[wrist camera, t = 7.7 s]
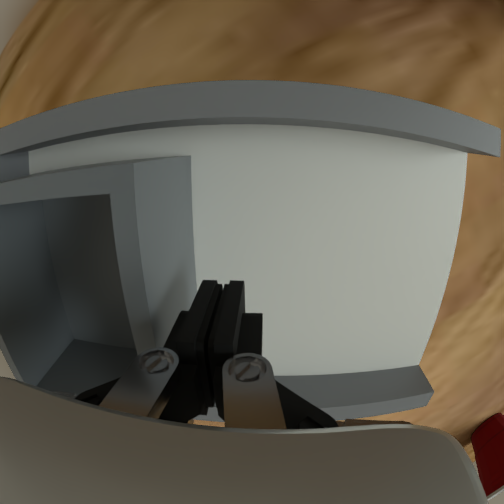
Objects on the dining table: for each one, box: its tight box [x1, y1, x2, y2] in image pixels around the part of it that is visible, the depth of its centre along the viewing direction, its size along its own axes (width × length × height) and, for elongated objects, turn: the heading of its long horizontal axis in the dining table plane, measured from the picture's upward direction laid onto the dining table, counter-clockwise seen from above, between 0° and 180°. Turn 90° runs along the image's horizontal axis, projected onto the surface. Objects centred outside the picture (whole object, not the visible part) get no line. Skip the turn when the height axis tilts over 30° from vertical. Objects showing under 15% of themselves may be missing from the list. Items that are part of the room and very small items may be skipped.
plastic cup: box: [471, 413, 504, 500], centre depth 18 cm, size 11×11×12 cm
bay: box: [0, 80, 501, 422], centre depth 14 cm, size 18×28×4 cm, turn 89°
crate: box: [0, 156, 197, 396], centre depth 12 cm, size 12×10×7 cm
